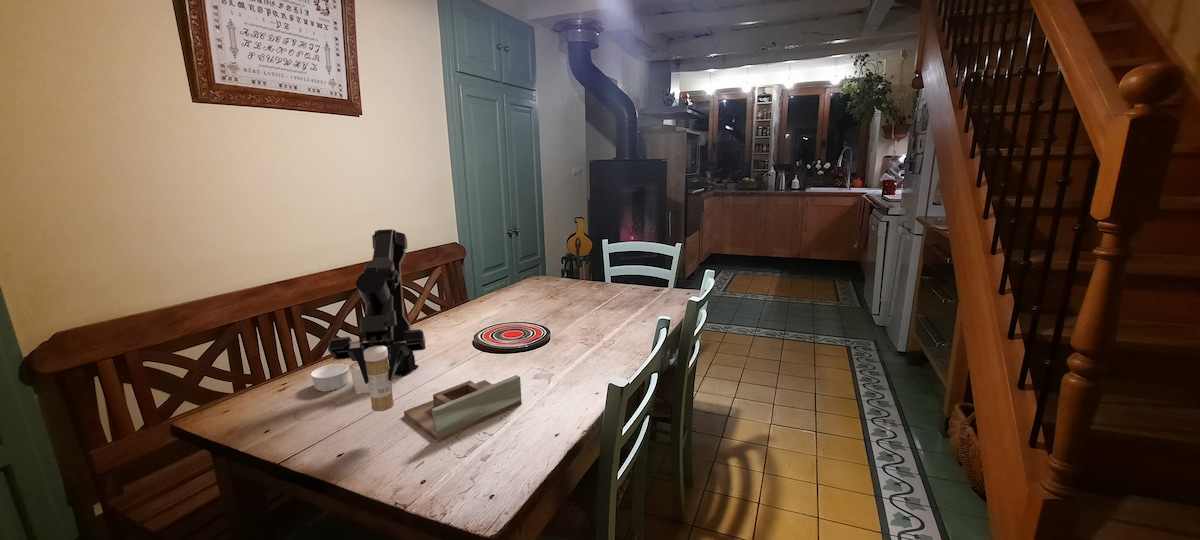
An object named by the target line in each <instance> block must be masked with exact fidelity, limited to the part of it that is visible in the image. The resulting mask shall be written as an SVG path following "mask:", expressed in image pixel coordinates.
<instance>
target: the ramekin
mask: <svg viewBox="0 0 1200 540" xmlns="http://www.w3.org/2000/svg"><path fill="white" fill-rule="evenodd" d="M349 370H350V366H349V365H346V364H344V363H333V364H327V365H324V366H320V367H317V368H316V369H314V370H312V372H311V373H310V377H311V379H312V382H313V386H314V389H315V390H316V389H317V390H316V391H318V390H322V391H321V392H324V391H323V390H332V391H334V390H333V389H336V390H338V389H337V388H339V387H341V388H343V387H345V386H346V385H347V384H348V383H349ZM345 384H346V385H345ZM344 385H345V386H344ZM342 386H343V387H342ZM339 389H340V388H339Z"/></svg>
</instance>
